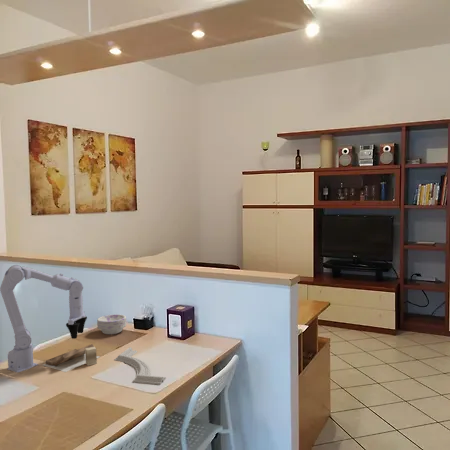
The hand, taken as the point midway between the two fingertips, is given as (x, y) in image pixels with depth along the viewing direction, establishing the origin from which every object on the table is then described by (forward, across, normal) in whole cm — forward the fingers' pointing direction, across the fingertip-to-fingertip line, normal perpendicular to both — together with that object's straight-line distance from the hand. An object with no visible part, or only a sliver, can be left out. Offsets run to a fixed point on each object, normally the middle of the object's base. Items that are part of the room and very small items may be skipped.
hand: (77, 335), depth 195 cm
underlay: (+10, -5, +1) cm, 11 cm away
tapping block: (+6, -8, -8) cm, 13 cm away
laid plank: (+10, -3, +5) cm, 11 cm away
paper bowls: (+10, +36, -5) cm, 38 cm away
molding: (+11, -12, -32) cm, 36 cm away
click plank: (+7, -6, -1) cm, 10 cm away
